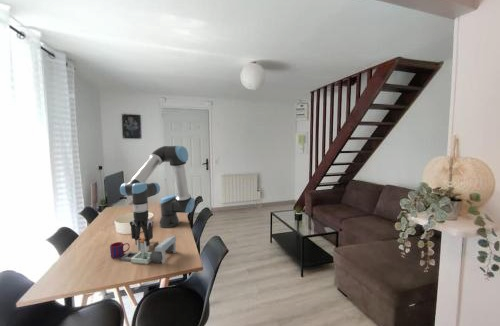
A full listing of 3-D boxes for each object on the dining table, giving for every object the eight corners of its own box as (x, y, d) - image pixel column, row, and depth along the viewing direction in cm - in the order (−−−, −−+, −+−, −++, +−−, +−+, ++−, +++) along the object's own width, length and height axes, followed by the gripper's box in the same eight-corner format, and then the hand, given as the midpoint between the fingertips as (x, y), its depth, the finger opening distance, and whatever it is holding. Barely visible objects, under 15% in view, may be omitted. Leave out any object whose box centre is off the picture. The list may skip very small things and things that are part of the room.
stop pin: (143, 257, 133) (141, 237, 132) (150, 257, 132) (148, 237, 131) (138, 260, 129) (137, 240, 128) (145, 261, 128) (143, 240, 127)
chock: (152, 248, 145) (152, 240, 145) (158, 248, 144) (158, 241, 144) (146, 252, 139) (146, 244, 139) (153, 253, 138) (152, 245, 138)
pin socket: (129, 254, 137) (129, 251, 137) (140, 255, 136) (139, 252, 136) (121, 260, 131) (120, 257, 130) (132, 261, 129) (131, 258, 129)
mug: (111, 253, 138) (111, 243, 137) (130, 250, 142) (129, 240, 141) (109, 259, 132) (108, 248, 131) (129, 255, 136) (128, 244, 135)
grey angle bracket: (164, 250, 141) (163, 234, 140) (176, 251, 140) (175, 235, 139) (150, 262, 127) (149, 245, 126) (163, 264, 126) (162, 246, 125)
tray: (140, 255, 135) (140, 251, 135) (156, 257, 134) (155, 253, 133) (131, 262, 128) (131, 258, 127) (147, 264, 126) (147, 260, 126)
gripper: (122, 212, 125) (124, 252, 127) (150, 213, 122) (152, 255, 124) (131, 208, 133) (134, 246, 135) (158, 209, 130) (160, 249, 132)
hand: (143, 250), depth 130 cm, fingers closed on stop pin, 4 cm apart
